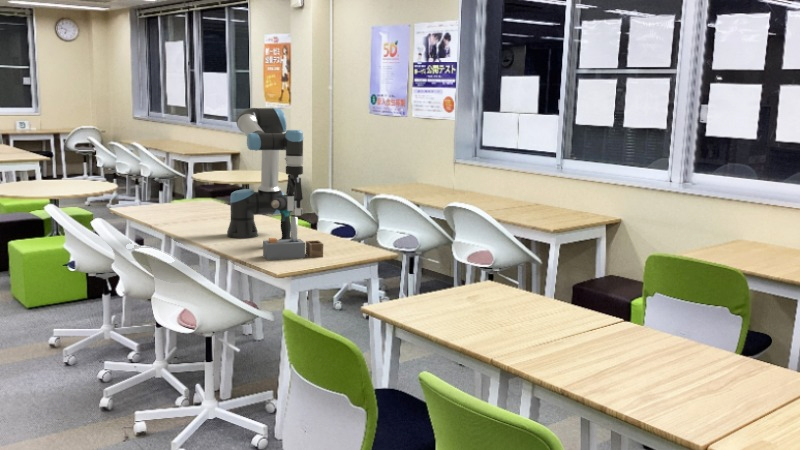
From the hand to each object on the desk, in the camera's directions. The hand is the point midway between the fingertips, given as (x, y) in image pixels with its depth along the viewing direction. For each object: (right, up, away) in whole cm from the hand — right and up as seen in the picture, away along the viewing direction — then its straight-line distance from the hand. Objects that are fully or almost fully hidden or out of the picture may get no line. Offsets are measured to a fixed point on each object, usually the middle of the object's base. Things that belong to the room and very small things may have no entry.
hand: (294, 213), depth 320 cm
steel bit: (-1, -19, +4) cm, 20 cm away
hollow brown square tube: (+8, -19, +7) cm, 22 cm away
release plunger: (-10, -19, 0) cm, 22 cm away
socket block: (-4, -20, +2) cm, 20 cm away
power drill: (-9, -16, +23) cm, 30 cm away
